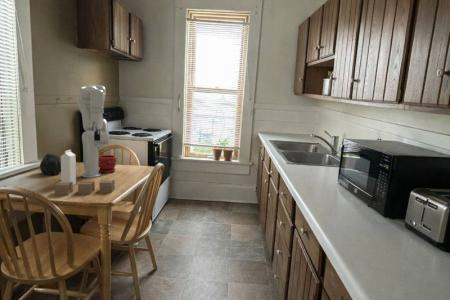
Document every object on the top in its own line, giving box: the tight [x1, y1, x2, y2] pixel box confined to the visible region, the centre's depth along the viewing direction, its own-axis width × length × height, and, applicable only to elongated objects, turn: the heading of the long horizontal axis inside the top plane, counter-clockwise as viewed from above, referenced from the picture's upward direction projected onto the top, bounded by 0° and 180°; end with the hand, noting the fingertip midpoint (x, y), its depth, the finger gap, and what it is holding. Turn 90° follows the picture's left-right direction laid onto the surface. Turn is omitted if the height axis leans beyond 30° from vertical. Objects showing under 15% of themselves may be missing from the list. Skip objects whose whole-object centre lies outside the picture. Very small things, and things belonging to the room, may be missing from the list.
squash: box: [39, 153, 61, 176], centre depth 212 cm, size 14×15×15 cm
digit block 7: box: [98, 179, 116, 193], centre depth 183 cm, size 7×7×6 cm
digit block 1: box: [54, 181, 74, 196], centre depth 173 cm, size 7×7×6 cm
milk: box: [60, 149, 77, 186], centre depth 188 cm, size 6×6×22 cm
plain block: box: [77, 180, 96, 195], centre depth 178 cm, size 7×7×6 cm
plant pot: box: [99, 154, 117, 174], centre depth 227 cm, size 13×13×12 cm
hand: (97, 140), depth 185 cm, fingers closed
